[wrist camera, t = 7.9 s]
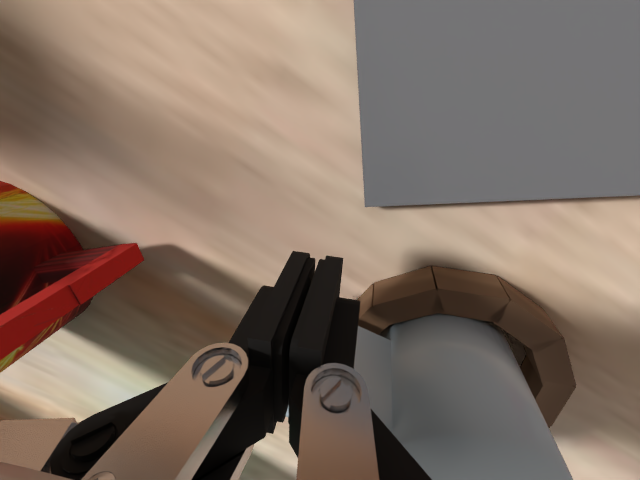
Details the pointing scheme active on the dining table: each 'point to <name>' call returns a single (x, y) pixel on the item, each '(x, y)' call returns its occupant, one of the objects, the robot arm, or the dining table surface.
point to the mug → (46, 272)
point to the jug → (457, 400)
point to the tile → (498, 99)
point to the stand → (482, 304)
